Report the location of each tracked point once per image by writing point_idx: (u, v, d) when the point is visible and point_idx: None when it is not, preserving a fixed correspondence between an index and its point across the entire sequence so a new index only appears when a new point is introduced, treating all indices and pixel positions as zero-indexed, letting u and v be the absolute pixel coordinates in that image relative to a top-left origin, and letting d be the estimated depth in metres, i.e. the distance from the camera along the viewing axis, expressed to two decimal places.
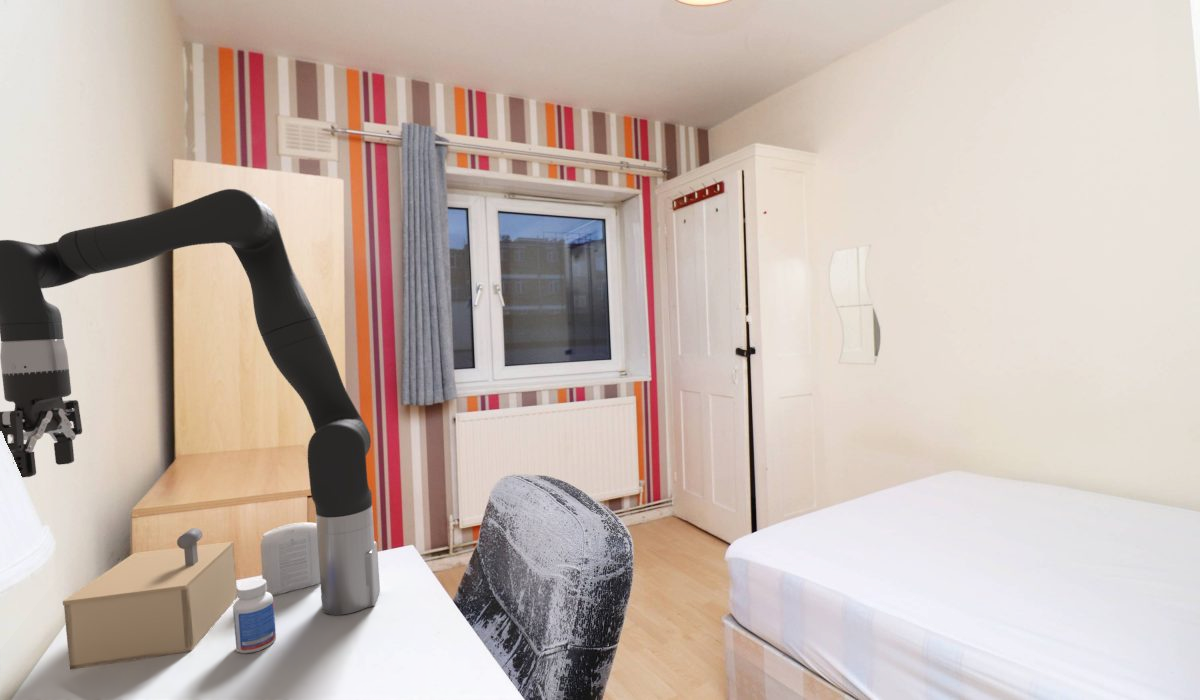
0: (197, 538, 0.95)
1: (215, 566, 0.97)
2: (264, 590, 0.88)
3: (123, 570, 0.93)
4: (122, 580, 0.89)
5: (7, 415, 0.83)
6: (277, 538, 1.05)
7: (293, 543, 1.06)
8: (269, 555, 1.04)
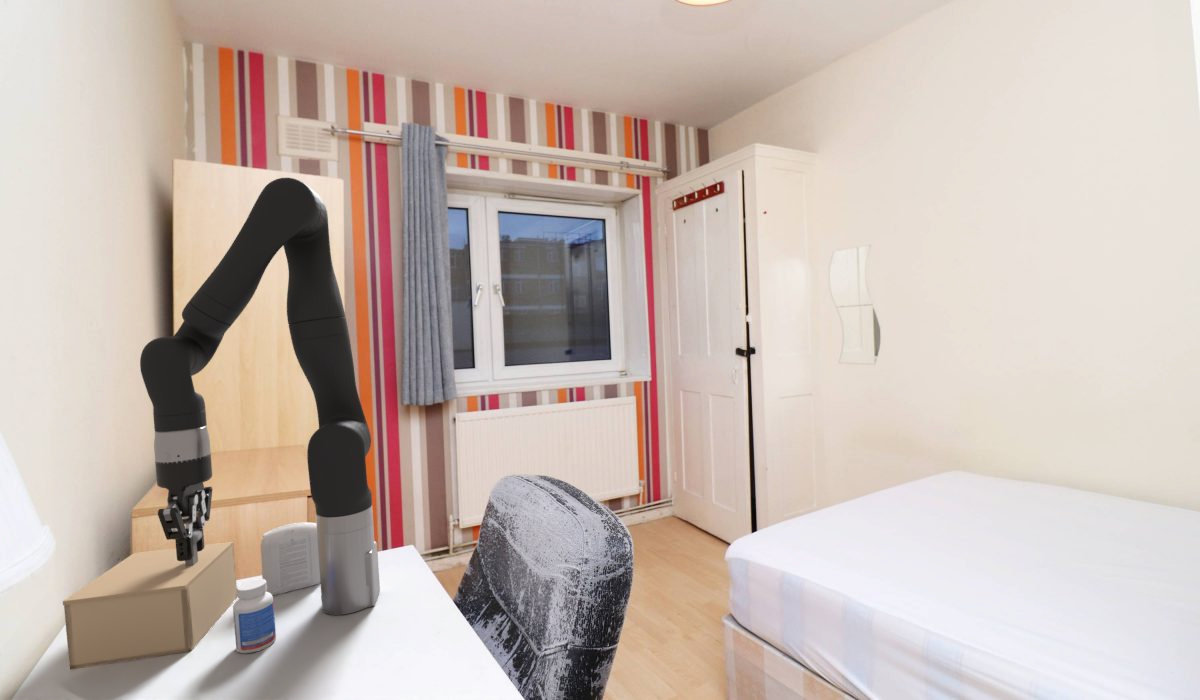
0: (197, 538, 0.95)
1: (215, 566, 0.97)
2: (264, 590, 0.88)
3: (123, 570, 0.93)
4: (122, 580, 0.89)
5: (168, 514, 0.88)
6: (277, 538, 1.05)
7: (293, 543, 1.06)
8: (269, 555, 1.04)
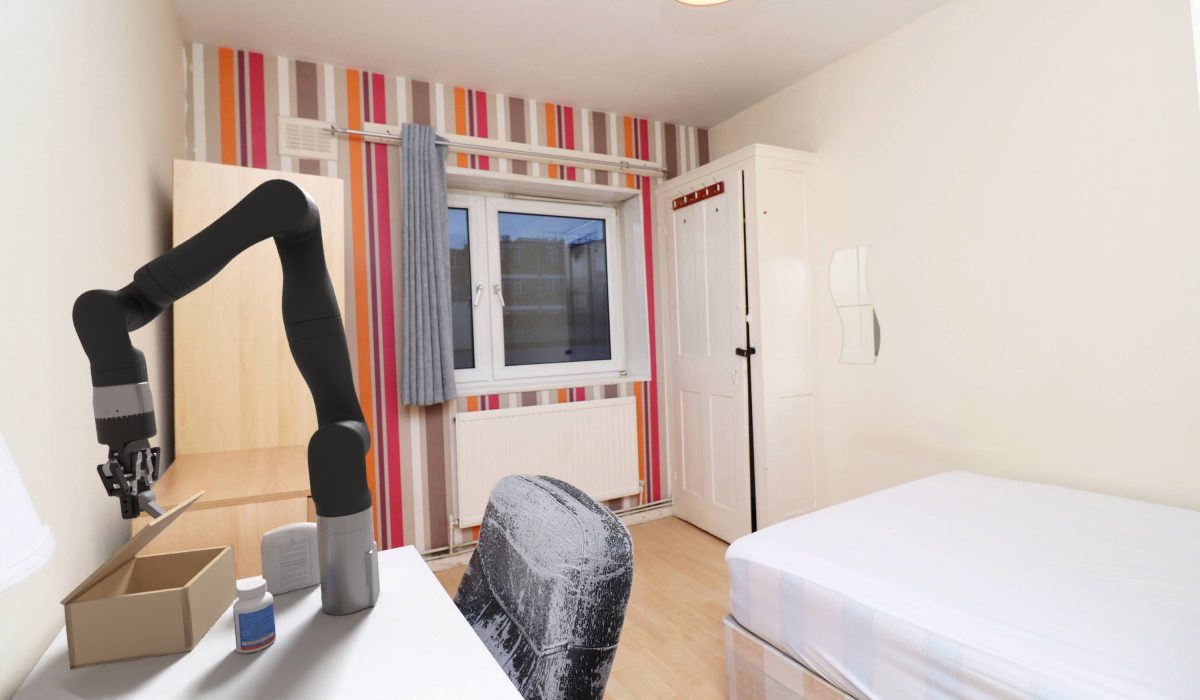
0: (148, 495, 0.93)
1: (215, 566, 0.97)
2: (264, 590, 0.88)
3: None
4: None
5: (107, 469, 0.86)
6: (277, 538, 1.05)
7: (293, 543, 1.06)
8: (269, 555, 1.04)
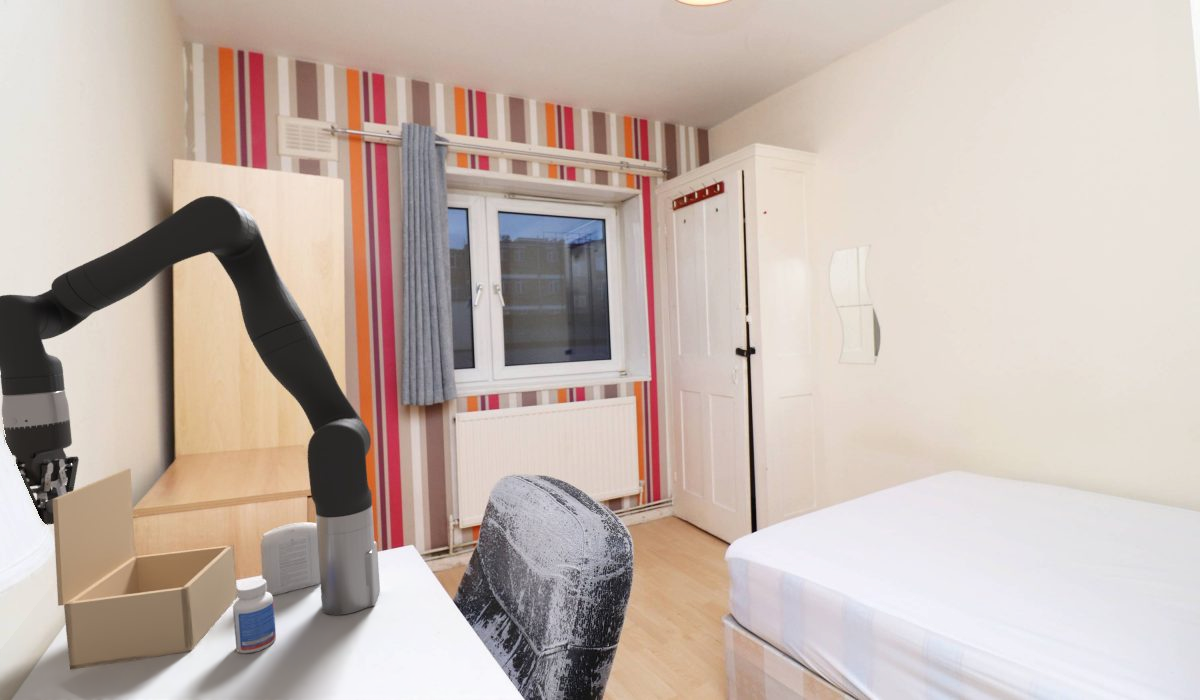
0: (61, 495, 0.90)
1: (215, 566, 0.97)
2: (264, 590, 0.88)
3: None
4: None
5: None
6: (277, 538, 1.05)
7: (293, 543, 1.06)
8: (269, 555, 1.04)
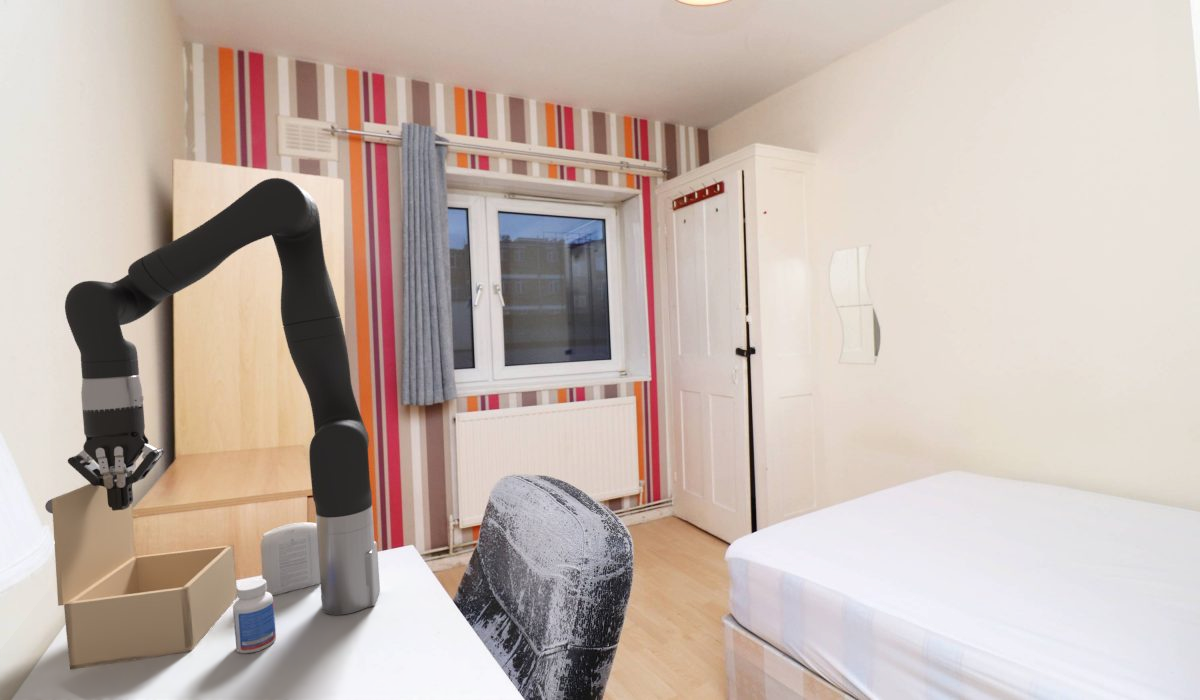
0: (61, 496, 0.90)
1: (215, 566, 0.97)
2: (264, 590, 0.88)
3: None
4: None
5: None
6: (277, 538, 1.05)
7: (293, 543, 1.06)
8: (269, 555, 1.04)
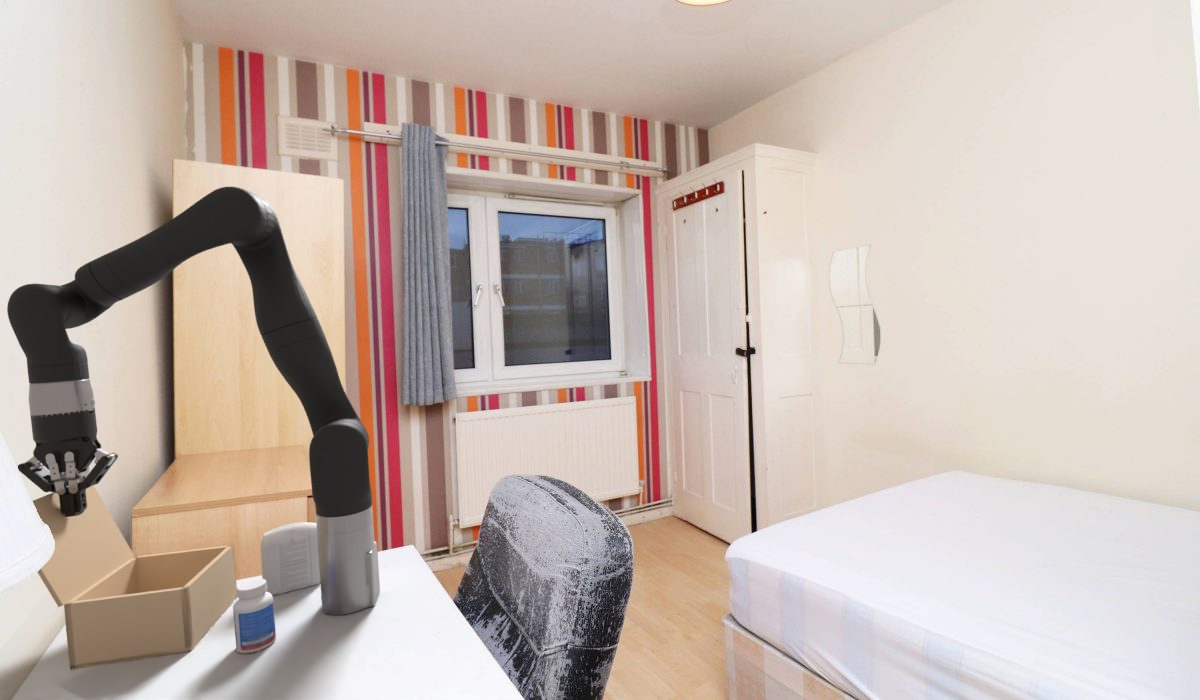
0: None
1: (215, 566, 0.97)
2: (264, 590, 0.88)
3: None
4: None
5: None
6: (277, 538, 1.05)
7: (293, 543, 1.06)
8: (269, 555, 1.04)
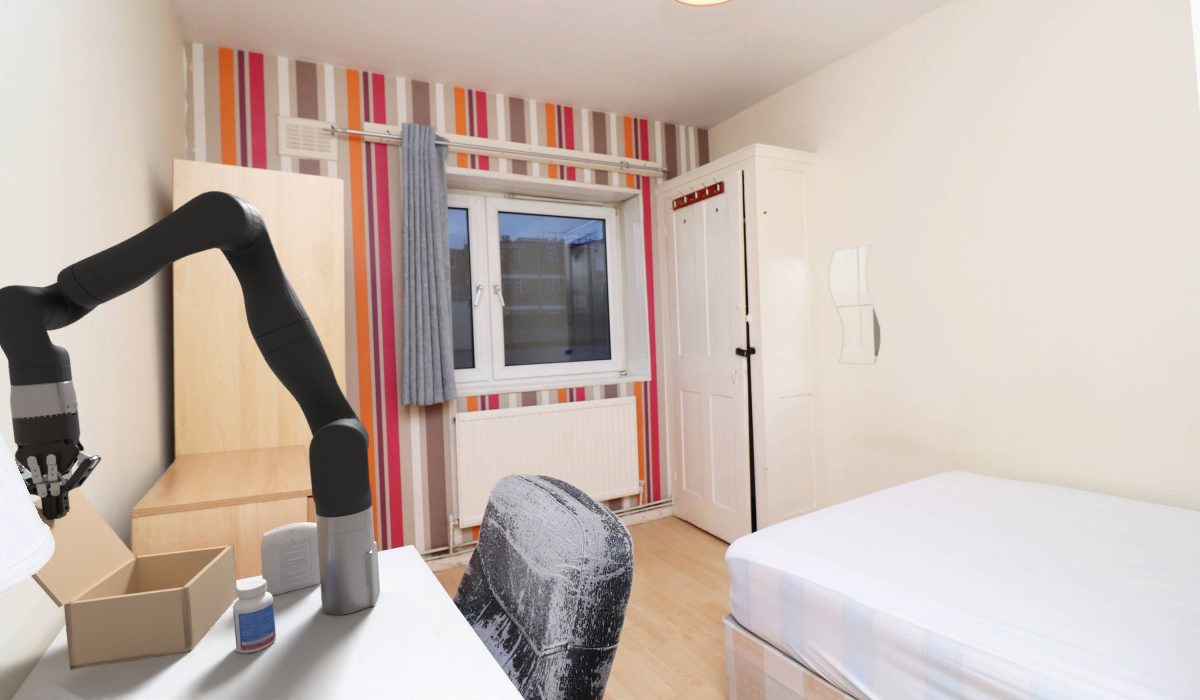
0: None
1: (215, 566, 0.97)
2: (264, 590, 0.88)
3: None
4: None
5: None
6: (277, 538, 1.05)
7: (293, 543, 1.06)
8: (269, 555, 1.04)
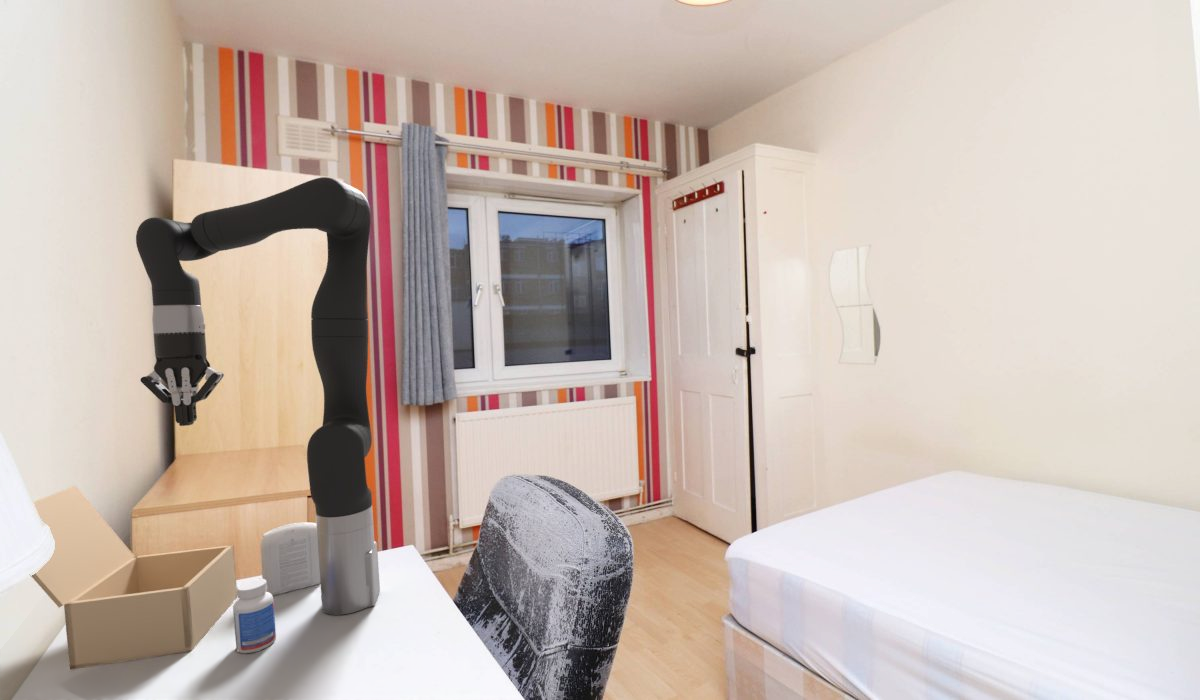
0: None
1: (215, 566, 0.97)
2: (264, 590, 0.88)
3: None
4: None
5: None
6: (277, 538, 1.05)
7: (293, 543, 1.06)
8: (269, 555, 1.04)
